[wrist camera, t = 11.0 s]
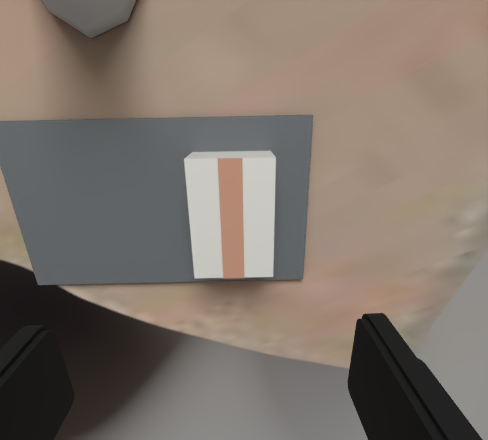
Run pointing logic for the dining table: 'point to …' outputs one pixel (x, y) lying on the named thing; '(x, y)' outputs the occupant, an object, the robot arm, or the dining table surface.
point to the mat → (140, 193)
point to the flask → (91, 13)
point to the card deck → (231, 213)
